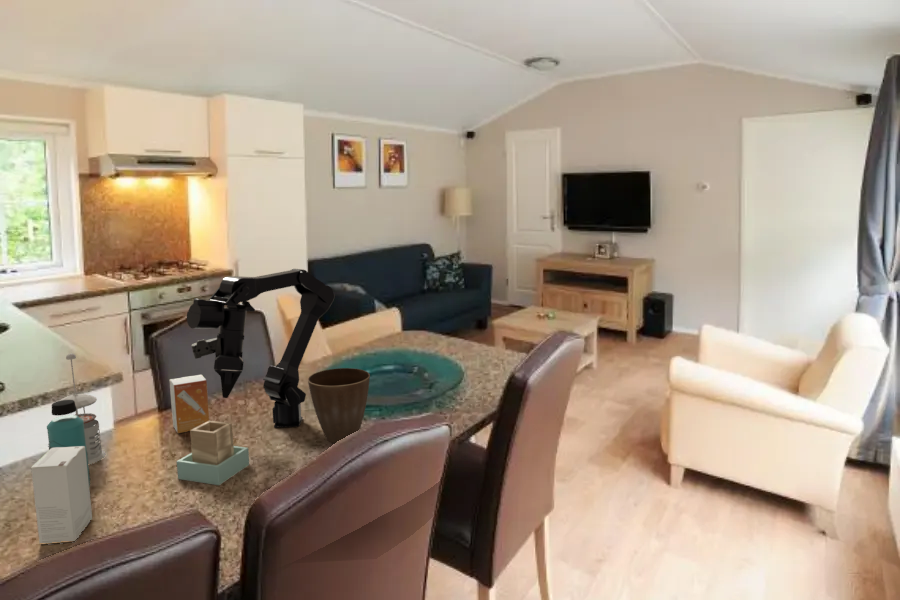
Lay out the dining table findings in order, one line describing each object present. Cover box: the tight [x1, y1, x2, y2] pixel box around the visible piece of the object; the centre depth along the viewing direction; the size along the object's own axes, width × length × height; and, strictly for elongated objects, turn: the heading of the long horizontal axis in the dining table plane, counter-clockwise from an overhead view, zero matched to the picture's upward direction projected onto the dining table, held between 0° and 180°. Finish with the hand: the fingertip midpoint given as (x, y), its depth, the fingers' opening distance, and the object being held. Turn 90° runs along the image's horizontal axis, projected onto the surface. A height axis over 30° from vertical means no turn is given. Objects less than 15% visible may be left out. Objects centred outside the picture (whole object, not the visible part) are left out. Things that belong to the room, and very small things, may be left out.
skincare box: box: [30, 446, 93, 544], centre depth 108 cm, size 8×6×15 cm
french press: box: [59, 353, 107, 465], centre depth 140 cm, size 10×12×25 cm
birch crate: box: [189, 420, 235, 465], centre depth 133 cm, size 6×6×10 cm
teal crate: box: [176, 445, 250, 486], centre depth 133 cm, size 10×10×4 cm
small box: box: [169, 374, 210, 434], centre depth 159 cm, size 8×6×13 cm
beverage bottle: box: [46, 399, 92, 488], centre depth 121 cm, size 6×7×20 cm
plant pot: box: [307, 367, 371, 444], centre depth 150 cm, size 15×15×16 cm
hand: (225, 393), depth 146 cm, fingers open, 9 cm apart
